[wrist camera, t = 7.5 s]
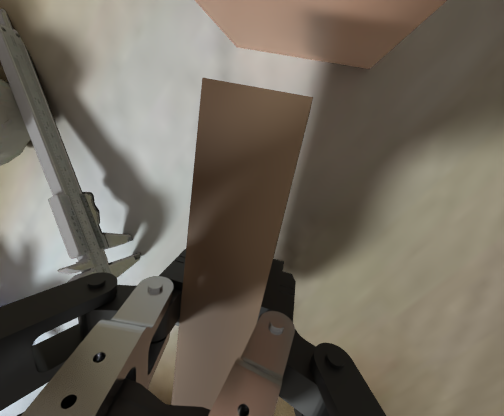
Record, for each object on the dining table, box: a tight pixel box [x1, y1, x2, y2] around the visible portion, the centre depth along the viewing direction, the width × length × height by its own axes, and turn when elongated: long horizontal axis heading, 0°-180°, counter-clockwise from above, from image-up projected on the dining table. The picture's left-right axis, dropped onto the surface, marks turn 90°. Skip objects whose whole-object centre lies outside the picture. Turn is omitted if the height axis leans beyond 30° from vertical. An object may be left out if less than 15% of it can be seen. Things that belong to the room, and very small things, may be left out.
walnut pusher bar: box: [171, 78, 313, 410], centre depth 11 cm, size 3×16×5 cm, turn 170°
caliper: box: [0, 9, 140, 283], centre depth 17 cm, size 21×1×6 cm, turn 23°
